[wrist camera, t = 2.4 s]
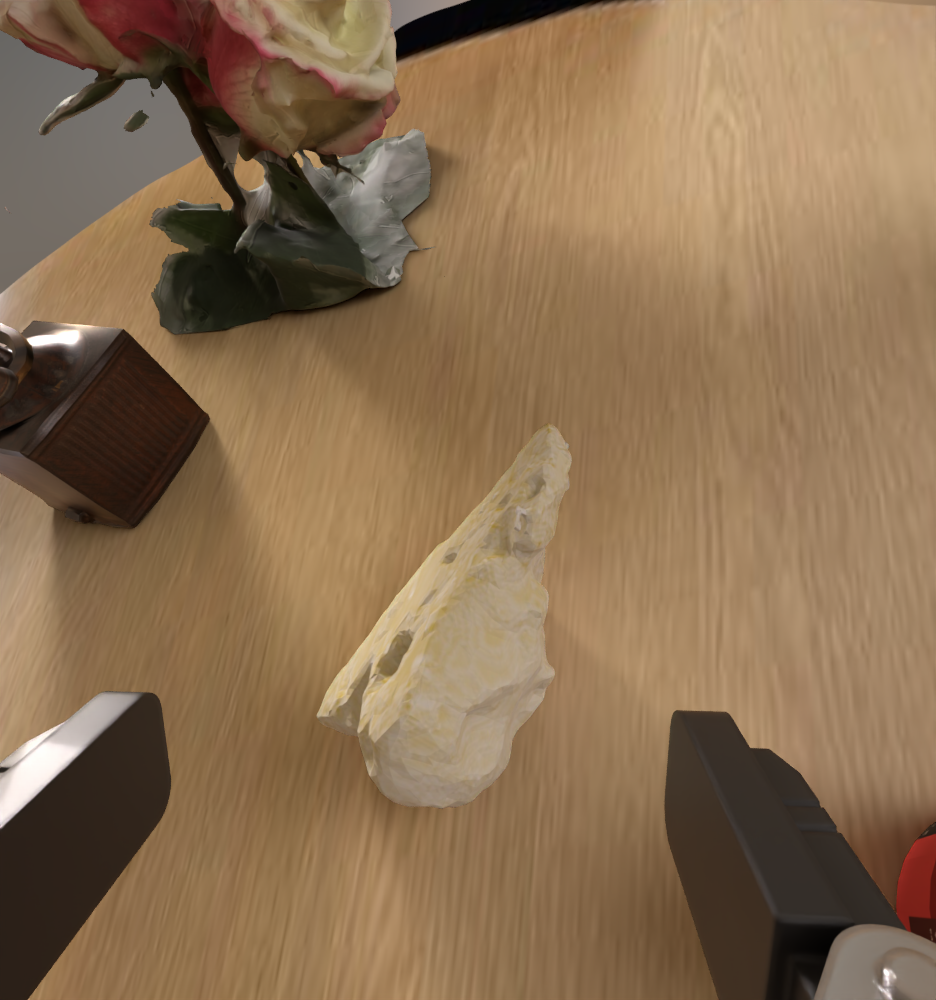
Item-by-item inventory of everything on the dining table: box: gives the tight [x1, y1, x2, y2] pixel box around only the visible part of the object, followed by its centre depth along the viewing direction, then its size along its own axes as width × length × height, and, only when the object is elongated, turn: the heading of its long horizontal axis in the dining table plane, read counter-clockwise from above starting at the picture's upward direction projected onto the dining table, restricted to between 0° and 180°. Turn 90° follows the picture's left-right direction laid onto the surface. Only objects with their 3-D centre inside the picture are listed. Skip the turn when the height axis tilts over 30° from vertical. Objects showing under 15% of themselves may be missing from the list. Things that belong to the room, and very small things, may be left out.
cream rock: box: [317, 424, 572, 809], centre depth 28 cm, size 15×7×15 cm
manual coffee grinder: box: [0, 321, 210, 528], centre depth 39 cm, size 16×11×18 cm
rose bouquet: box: [0, 0, 445, 334], centre depth 46 cm, size 26×29×30 cm
